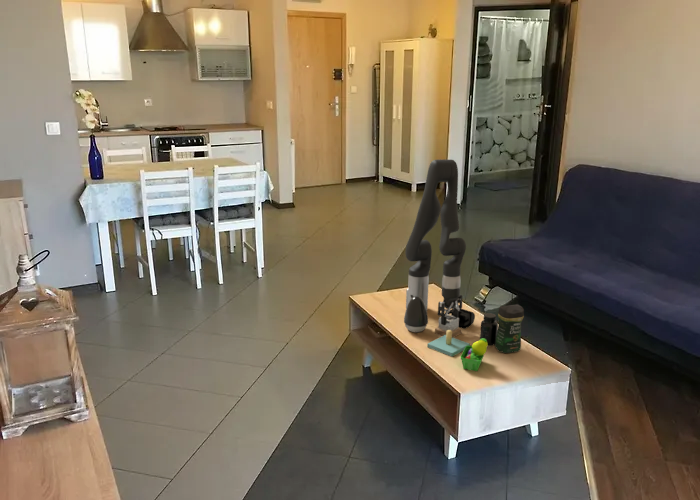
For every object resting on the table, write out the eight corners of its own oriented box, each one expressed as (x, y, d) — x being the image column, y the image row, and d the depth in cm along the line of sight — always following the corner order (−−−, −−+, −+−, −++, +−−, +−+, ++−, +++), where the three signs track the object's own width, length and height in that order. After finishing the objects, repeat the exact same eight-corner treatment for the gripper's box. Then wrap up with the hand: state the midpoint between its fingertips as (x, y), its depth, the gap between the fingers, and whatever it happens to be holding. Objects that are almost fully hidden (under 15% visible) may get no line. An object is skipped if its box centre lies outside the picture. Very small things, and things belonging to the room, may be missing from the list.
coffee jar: (503, 355, 226) (506, 311, 221) (491, 347, 233) (495, 303, 228) (524, 351, 229) (528, 307, 224) (512, 343, 236) (516, 300, 231)
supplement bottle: (485, 337, 242) (487, 310, 238) (500, 342, 237) (502, 315, 234) (476, 342, 237) (478, 315, 234) (490, 347, 232) (492, 320, 229)
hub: (427, 347, 233) (427, 331, 231) (445, 338, 241) (445, 322, 239) (452, 356, 225) (453, 340, 223) (469, 347, 233) (470, 331, 231)
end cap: (474, 324, 254) (475, 310, 252) (465, 329, 249) (466, 315, 248) (455, 318, 261) (456, 304, 259) (446, 323, 256) (447, 308, 254)
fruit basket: (465, 357, 225) (467, 330, 221) (488, 361, 221) (490, 333, 218) (459, 370, 214) (460, 342, 211) (483, 374, 211) (485, 346, 208)
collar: (438, 328, 245) (438, 317, 244) (446, 324, 249) (447, 313, 248) (450, 333, 241) (450, 321, 240) (458, 328, 245) (459, 317, 244)
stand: (434, 333, 246) (435, 317, 244) (445, 327, 251) (446, 312, 249) (450, 338, 240) (451, 323, 238) (461, 333, 246) (462, 317, 244)
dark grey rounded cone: (420, 323, 255) (421, 291, 251) (431, 332, 246) (433, 299, 242) (399, 326, 252) (400, 294, 248) (410, 336, 243) (411, 302, 238)
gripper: (453, 279, 247) (452, 314, 251) (433, 287, 237) (432, 324, 241) (468, 283, 242) (466, 319, 246) (448, 291, 232) (447, 329, 236)
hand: (449, 321), depth 244 cm, fingers open, 8 cm apart
